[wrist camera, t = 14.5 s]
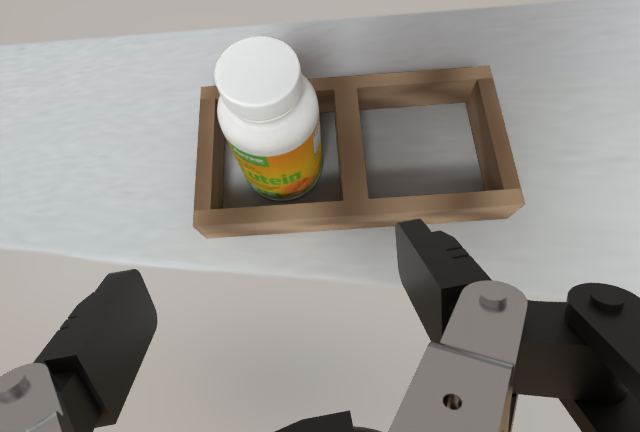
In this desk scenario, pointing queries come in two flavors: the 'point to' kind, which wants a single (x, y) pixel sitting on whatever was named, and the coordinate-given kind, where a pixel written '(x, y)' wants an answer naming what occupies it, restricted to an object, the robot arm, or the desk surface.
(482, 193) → the organizer
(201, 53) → the desk surface
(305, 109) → the supplement bottle
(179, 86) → the desk surface
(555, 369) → the robot arm
